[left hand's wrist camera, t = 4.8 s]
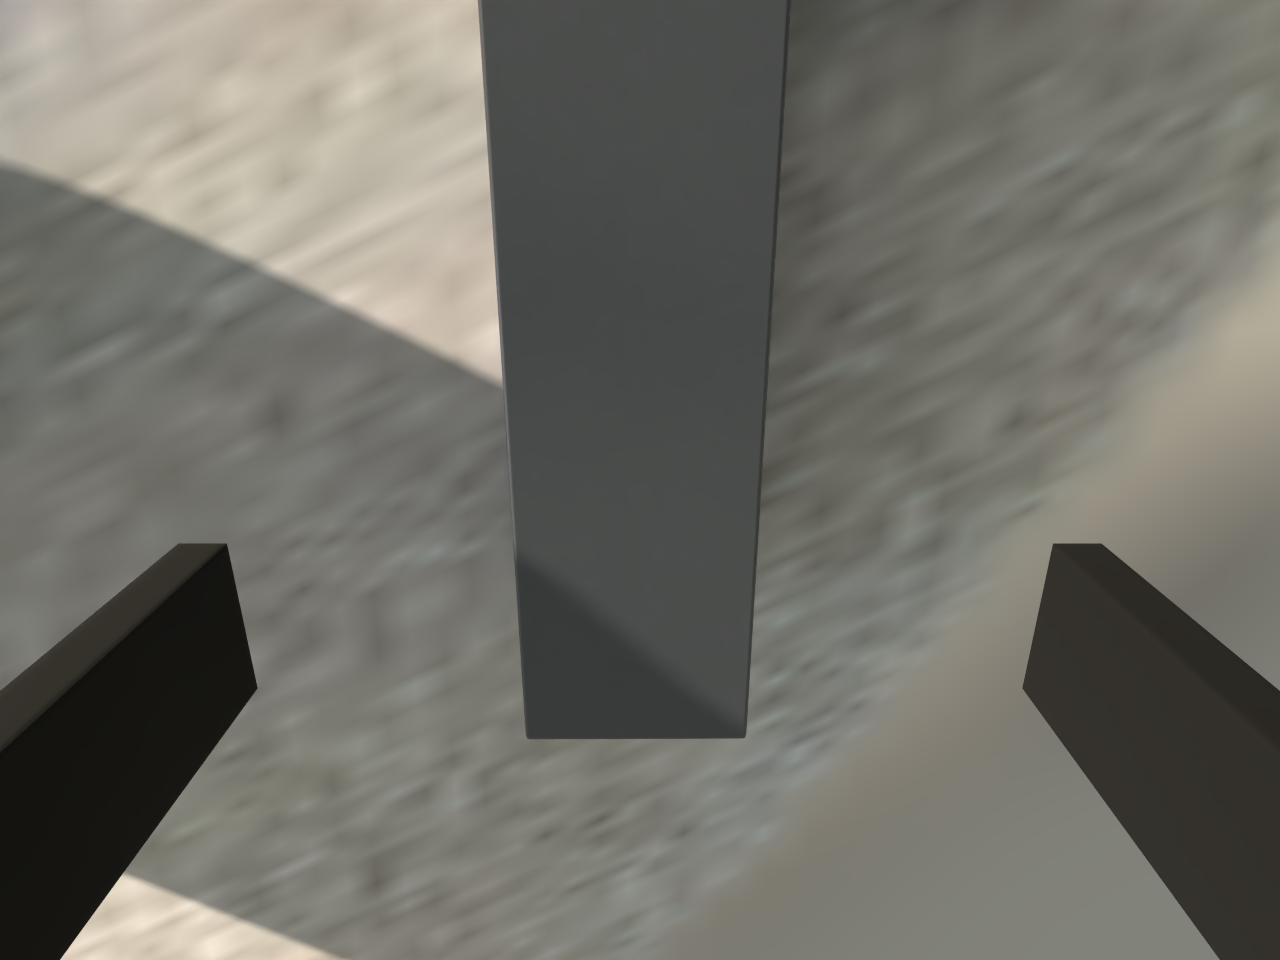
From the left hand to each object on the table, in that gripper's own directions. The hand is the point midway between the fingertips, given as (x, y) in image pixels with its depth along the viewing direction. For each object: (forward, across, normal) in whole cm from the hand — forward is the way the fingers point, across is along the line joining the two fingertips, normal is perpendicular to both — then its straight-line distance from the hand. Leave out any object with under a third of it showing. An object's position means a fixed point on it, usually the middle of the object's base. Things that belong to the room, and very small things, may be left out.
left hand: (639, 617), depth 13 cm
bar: (+13, 0, -29) cm, 32 cm away
